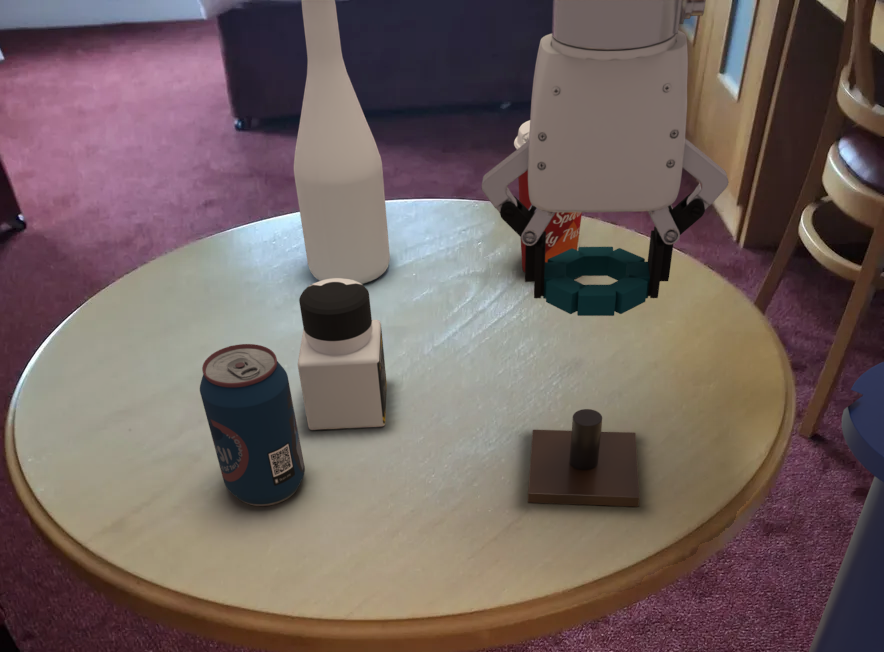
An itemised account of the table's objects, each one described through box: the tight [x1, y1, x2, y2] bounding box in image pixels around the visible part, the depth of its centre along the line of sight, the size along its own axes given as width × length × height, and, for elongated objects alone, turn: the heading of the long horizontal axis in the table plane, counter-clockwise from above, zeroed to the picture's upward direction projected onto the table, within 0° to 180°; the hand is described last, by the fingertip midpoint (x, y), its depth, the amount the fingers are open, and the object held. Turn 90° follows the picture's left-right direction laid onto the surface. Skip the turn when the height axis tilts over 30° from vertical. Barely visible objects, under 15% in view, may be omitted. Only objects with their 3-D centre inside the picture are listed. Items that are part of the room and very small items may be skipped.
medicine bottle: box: [297, 278, 388, 431], centre depth 82 cm, size 7×7×12 cm
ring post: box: [527, 408, 641, 508], centre depth 76 cm, size 9×9×6 cm
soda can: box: [199, 343, 306, 507], centre depth 74 cm, size 7×7×12 cm
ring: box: [542, 246, 650, 317], centre depth 67 cm, size 8×8×2 cm
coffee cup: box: [513, 119, 583, 273], centre depth 99 cm, size 8×8×15 cm
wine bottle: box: [293, 0, 391, 285], centre depth 96 cm, size 10×10×30 cm
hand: (595, 288), depth 67 cm, fingers closed on ring, 7 cm apart
